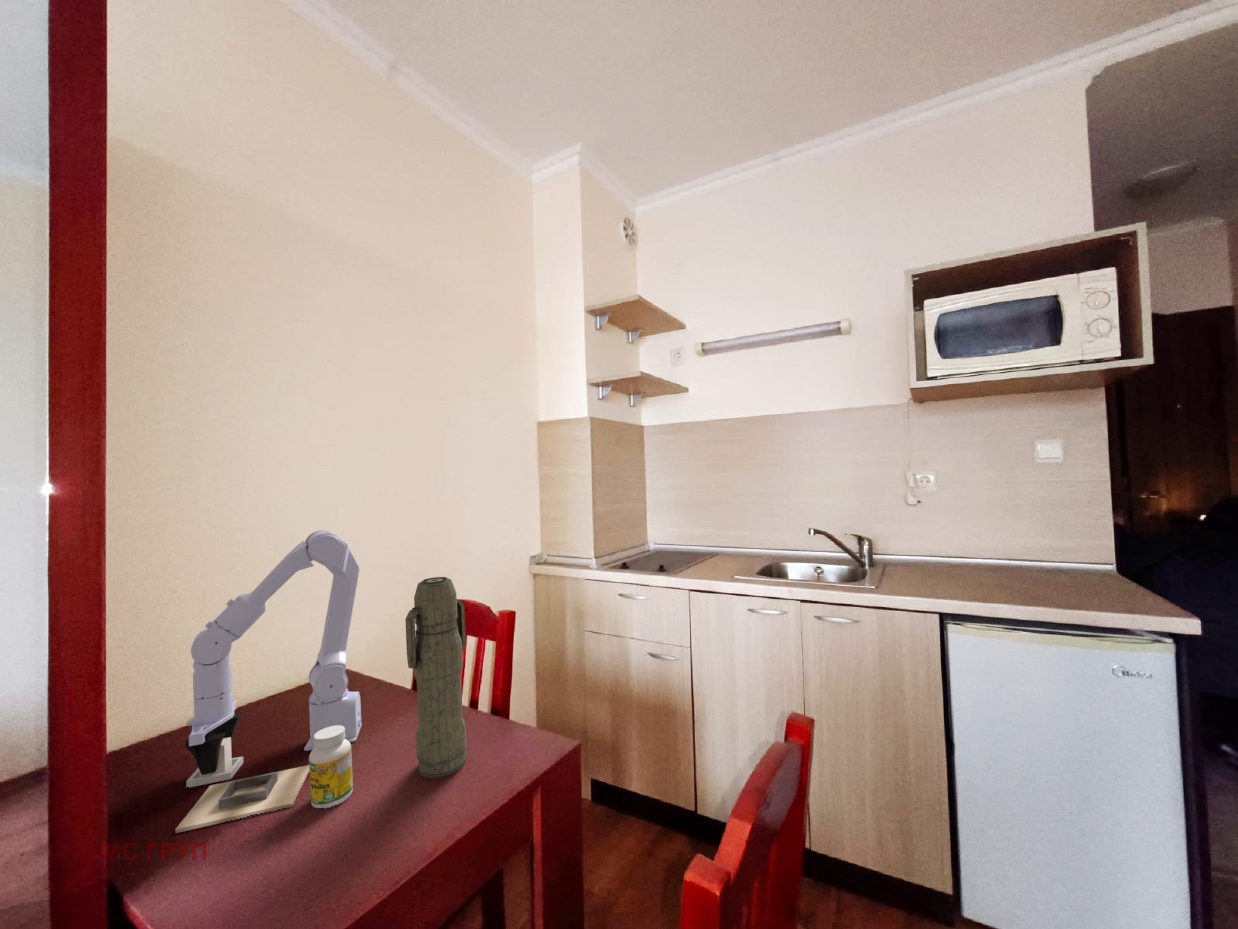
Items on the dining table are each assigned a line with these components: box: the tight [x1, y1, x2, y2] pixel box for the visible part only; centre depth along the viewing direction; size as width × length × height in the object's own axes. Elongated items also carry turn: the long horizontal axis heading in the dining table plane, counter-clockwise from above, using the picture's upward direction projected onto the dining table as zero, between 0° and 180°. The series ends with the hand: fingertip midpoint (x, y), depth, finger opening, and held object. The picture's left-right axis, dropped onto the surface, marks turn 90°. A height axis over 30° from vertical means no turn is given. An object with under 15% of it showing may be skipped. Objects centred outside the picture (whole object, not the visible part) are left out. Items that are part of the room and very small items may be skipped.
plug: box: [199, 737, 233, 777], centre depth 94 cm, size 4×3×6 cm, turn 109°
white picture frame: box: [185, 756, 244, 789], centre depth 94 cm, size 7×6×1 cm
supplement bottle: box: [308, 725, 354, 809], centre depth 86 cm, size 6×6×11 cm
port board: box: [174, 764, 310, 834], centre depth 87 cm, size 16×12×2 cm
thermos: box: [405, 576, 467, 779], centre depth 95 cm, size 9×12×35 cm
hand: (215, 764), depth 94 cm, fingers open, 5 cm apart
